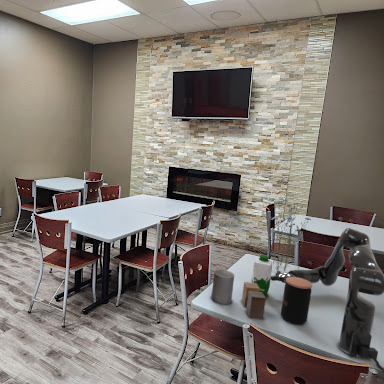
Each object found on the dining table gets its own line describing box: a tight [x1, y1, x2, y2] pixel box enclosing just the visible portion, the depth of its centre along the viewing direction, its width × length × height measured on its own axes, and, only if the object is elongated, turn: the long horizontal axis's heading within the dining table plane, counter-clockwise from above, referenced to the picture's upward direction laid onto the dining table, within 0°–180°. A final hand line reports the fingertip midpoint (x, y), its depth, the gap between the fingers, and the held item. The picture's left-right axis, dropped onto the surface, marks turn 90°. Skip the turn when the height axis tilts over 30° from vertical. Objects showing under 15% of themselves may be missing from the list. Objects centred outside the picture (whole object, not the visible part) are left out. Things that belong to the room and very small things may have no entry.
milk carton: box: [251, 254, 273, 299], centre depth 174 cm, size 9×9×20 cm
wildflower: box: [270, 198, 312, 273], centre depth 207 cm, size 22×23×45 cm
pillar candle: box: [211, 269, 235, 305], centre depth 166 cm, size 10×10×15 cm
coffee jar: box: [280, 277, 313, 326], centre depth 150 cm, size 11×11×18 cm
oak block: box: [241, 281, 260, 308], centre depth 163 cm, size 6×6×10 cm
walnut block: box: [246, 291, 267, 320], centre depth 153 cm, size 6×6×10 cm
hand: (271, 278), depth 175 cm, fingers closed
